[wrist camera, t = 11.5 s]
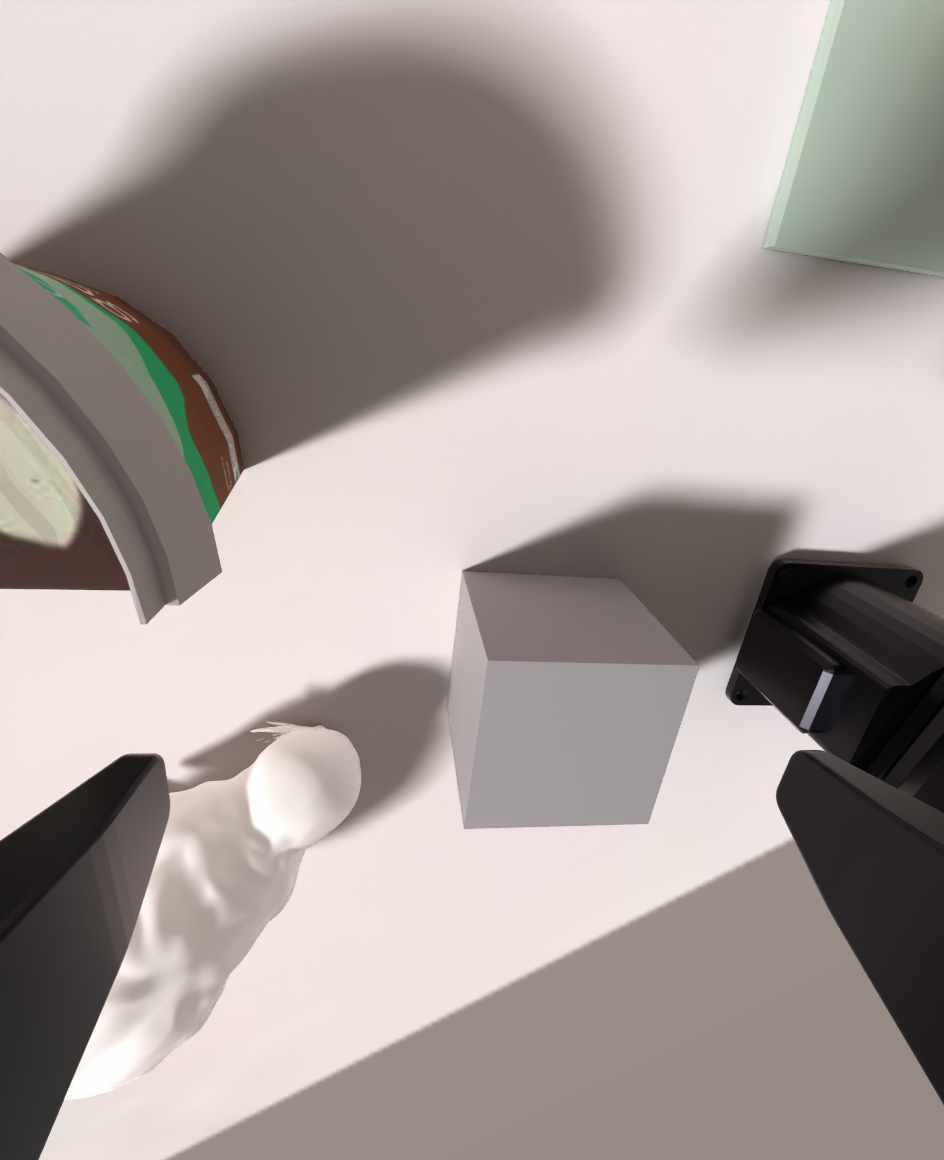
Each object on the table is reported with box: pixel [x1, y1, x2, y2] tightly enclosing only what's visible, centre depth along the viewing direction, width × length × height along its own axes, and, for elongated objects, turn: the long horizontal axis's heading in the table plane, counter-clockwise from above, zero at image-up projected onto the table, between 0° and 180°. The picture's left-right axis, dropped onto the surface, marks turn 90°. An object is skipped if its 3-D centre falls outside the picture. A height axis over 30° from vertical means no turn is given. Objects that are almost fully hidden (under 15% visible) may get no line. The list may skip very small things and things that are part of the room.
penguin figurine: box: [65, 722, 361, 1099], centre depth 19 cm, size 6×8×12 cm
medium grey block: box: [447, 571, 699, 829], centre depth 19 cm, size 6×6×6 cm
